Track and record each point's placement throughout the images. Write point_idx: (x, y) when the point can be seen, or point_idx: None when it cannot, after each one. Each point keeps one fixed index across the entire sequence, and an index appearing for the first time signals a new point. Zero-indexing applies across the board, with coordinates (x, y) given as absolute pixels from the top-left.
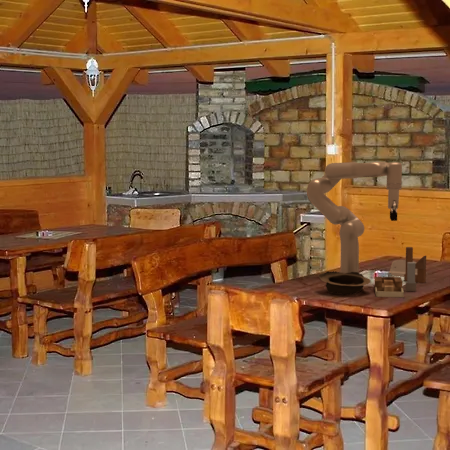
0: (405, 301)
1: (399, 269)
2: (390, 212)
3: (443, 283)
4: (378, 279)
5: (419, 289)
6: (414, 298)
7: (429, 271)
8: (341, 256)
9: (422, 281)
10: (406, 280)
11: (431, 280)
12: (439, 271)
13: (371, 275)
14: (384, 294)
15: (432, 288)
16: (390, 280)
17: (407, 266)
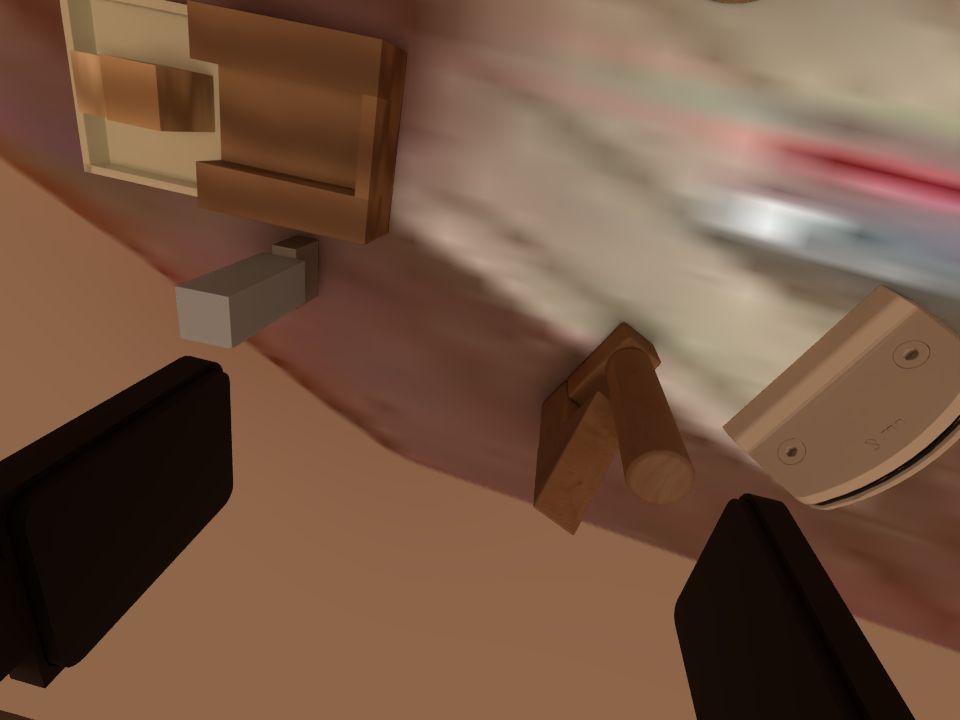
0: (8, 148)
1: (867, 372)
2: (824, 694)
3: (519, 491)
4: (258, 45)
5: (349, 324)
6: (99, 221)
7: (934, 564)
8: None
9: (544, 405)
10: (611, 334)
11: (619, 470)
12: (909, 606)
13: (939, 151)
14: (81, 46)
15: (380, 395)
16: (138, 111)
17: (232, 285)
